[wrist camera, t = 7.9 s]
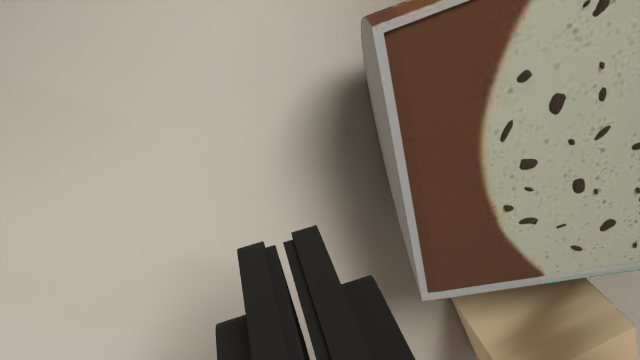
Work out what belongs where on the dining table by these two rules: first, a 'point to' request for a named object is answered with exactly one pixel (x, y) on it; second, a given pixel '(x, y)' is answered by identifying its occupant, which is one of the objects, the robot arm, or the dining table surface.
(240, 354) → the robot arm
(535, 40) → the food container
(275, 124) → the dining table surface
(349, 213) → the dining table surface
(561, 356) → the oak block
